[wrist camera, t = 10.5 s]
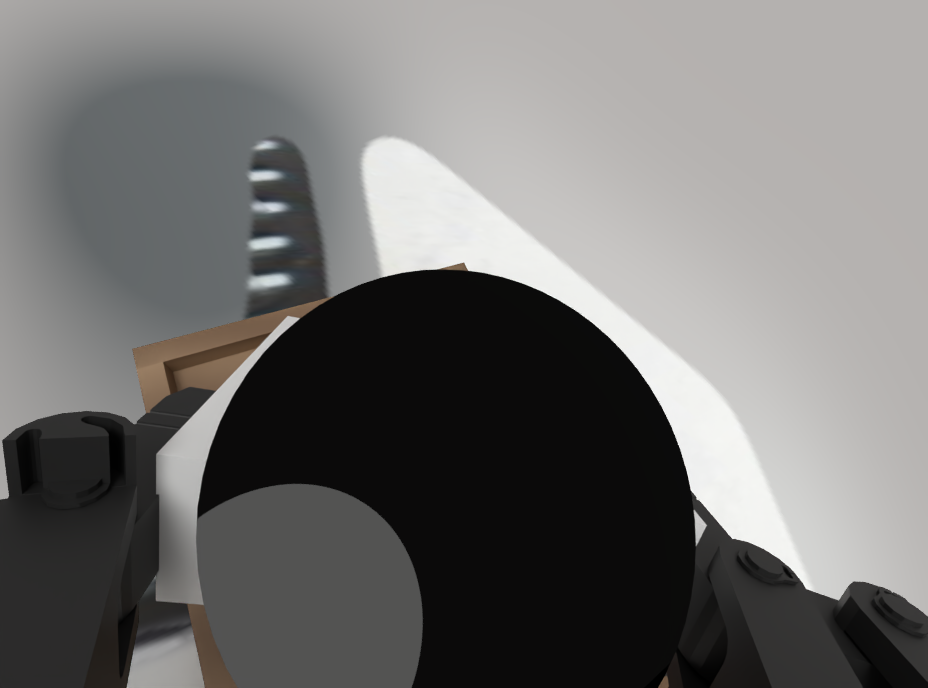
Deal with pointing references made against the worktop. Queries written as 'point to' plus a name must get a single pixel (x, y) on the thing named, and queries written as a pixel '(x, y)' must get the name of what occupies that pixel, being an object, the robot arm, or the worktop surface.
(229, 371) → the tray
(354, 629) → the supplement container
